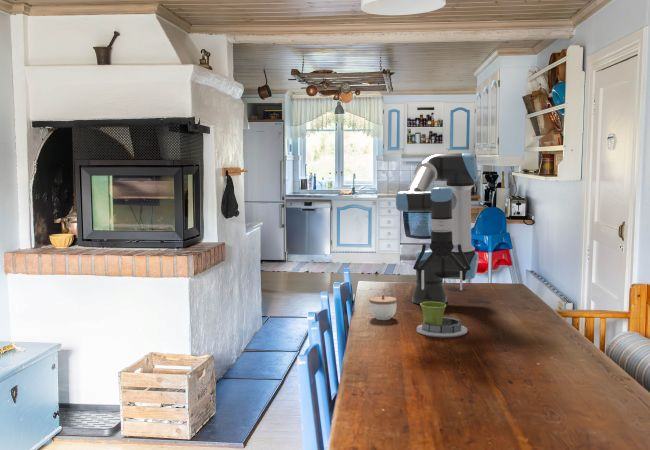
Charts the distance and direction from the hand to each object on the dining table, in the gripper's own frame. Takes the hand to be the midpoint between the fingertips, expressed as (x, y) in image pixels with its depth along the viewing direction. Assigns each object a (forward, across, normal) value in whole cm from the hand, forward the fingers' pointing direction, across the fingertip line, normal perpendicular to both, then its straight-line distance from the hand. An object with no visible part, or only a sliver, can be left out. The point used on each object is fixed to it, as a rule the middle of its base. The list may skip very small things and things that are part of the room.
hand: (441, 289), depth 242 cm
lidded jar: (+16, -23, +17) cm, 33 cm away
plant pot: (+14, -3, 0) cm, 15 cm away
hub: (+15, 0, -1) cm, 15 cm away
